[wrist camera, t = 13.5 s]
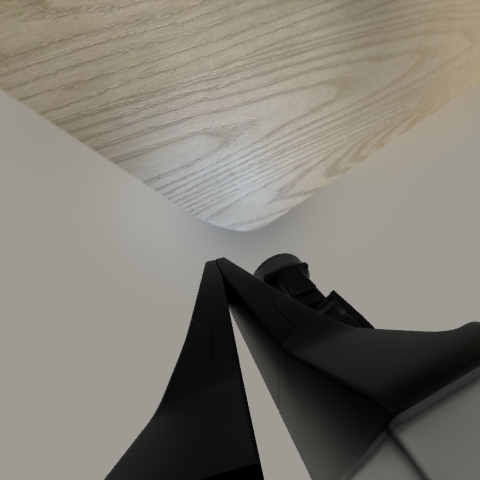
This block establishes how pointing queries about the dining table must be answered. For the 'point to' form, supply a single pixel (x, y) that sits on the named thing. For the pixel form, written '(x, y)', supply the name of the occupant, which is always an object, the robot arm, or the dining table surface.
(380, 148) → the dining table surface
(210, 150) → the dining table surface
